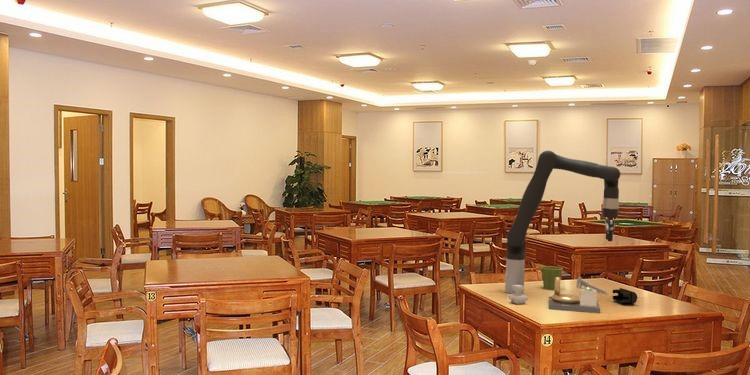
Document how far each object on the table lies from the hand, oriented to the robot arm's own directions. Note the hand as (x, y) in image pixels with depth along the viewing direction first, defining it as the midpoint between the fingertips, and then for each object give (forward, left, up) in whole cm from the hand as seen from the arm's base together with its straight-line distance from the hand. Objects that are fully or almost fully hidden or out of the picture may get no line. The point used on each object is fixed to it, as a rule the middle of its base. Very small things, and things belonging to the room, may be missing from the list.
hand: (609, 240), depth 314 cm
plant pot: (-27, +19, -29) cm, 44 cm away
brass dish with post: (-20, -22, -27) cm, 40 cm away
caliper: (-6, +22, -30) cm, 37 cm away
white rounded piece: (-42, -27, -29) cm, 58 cm away
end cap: (+7, -8, -30) cm, 31 cm away
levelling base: (-17, -25, -29) cm, 42 cm away
